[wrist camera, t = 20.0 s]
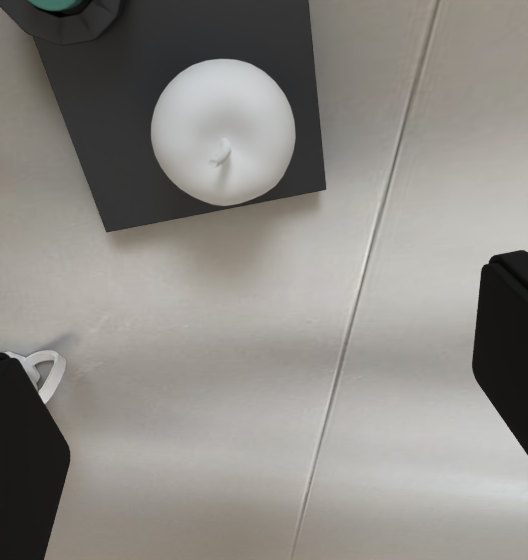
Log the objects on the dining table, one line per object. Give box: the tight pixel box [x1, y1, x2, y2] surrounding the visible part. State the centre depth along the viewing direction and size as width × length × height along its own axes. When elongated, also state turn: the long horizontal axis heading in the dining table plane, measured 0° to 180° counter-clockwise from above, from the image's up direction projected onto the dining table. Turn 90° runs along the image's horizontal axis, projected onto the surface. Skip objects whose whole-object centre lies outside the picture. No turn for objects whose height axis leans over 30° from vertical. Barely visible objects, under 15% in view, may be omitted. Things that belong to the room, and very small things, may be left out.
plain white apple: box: [151, 59, 296, 206], centre depth 24 cm, size 7×7×8 cm
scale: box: [0, 0, 326, 232], centre depth 26 cm, size 16×14×4 cm
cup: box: [3, 350, 66, 404], centre depth 33 cm, size 7×10×8 cm
